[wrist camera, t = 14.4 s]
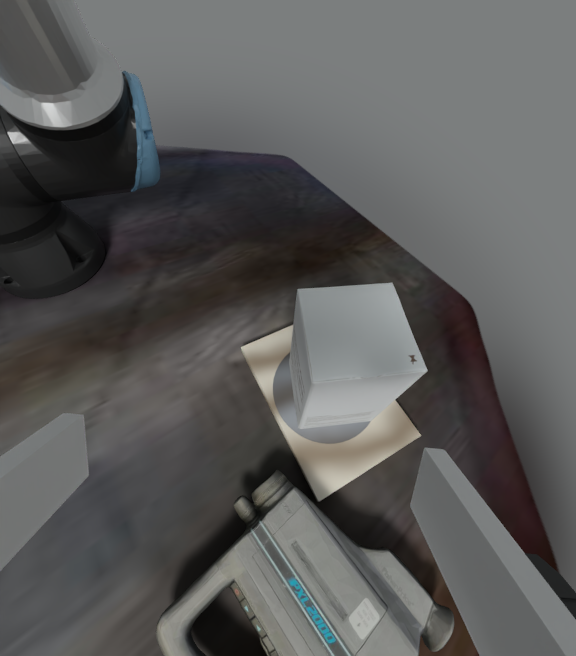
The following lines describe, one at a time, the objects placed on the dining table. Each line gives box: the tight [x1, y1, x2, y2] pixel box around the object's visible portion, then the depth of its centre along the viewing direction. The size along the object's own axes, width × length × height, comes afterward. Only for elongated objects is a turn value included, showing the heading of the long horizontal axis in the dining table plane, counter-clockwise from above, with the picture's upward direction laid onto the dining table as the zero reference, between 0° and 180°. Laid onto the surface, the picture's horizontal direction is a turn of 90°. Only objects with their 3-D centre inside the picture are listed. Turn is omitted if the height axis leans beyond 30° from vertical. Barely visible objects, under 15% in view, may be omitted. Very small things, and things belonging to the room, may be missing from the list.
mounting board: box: [241, 325, 421, 502], centre depth 37 cm, size 20×14×1 cm
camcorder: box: [156, 470, 454, 656], centre depth 24 cm, size 16×21×5 cm
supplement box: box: [289, 283, 427, 429], centre depth 29 cm, size 9×9×15 cm
